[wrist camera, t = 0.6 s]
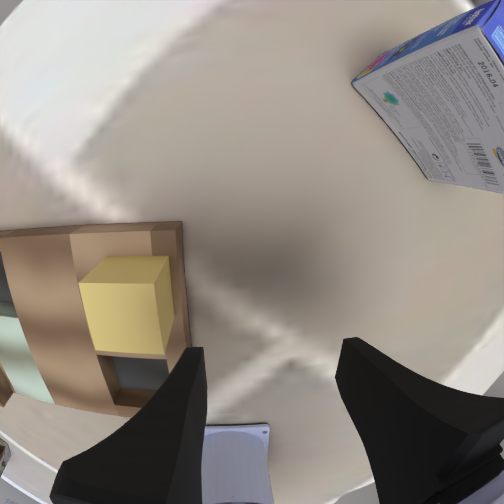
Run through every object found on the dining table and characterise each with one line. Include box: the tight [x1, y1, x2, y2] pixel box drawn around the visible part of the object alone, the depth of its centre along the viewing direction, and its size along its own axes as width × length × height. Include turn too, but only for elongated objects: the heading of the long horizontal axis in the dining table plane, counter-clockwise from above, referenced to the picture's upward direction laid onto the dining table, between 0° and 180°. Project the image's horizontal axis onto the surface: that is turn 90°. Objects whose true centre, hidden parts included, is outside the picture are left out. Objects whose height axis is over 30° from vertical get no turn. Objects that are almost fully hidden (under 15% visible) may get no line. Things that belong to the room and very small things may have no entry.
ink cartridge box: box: [352, 0, 504, 194], centre depth 11 cm, size 10×6×14 cm, turn 48°
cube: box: [79, 256, 175, 355], centre depth 15 cm, size 4×4×4 cm
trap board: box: [0, 221, 191, 418], centre depth 17 cm, size 16×21×5 cm
